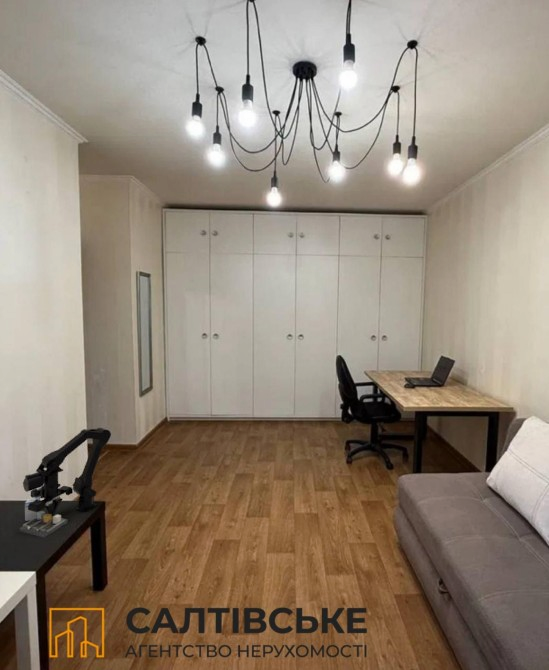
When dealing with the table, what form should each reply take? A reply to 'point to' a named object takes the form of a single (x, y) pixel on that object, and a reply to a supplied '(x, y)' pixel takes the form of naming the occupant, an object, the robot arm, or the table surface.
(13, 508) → the table surface
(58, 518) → the slider cream
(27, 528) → the panel
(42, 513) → the slider blue
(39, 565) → the table surface
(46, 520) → the slider amber
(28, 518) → the medicine box
